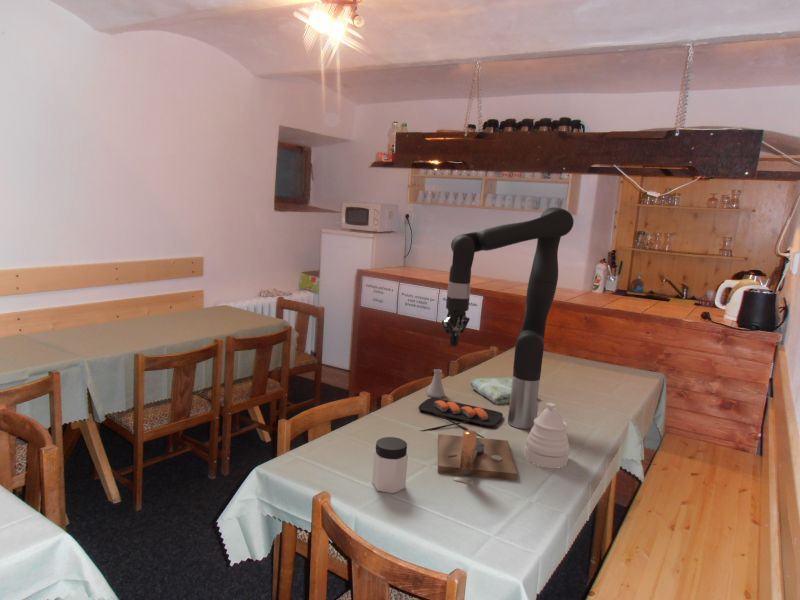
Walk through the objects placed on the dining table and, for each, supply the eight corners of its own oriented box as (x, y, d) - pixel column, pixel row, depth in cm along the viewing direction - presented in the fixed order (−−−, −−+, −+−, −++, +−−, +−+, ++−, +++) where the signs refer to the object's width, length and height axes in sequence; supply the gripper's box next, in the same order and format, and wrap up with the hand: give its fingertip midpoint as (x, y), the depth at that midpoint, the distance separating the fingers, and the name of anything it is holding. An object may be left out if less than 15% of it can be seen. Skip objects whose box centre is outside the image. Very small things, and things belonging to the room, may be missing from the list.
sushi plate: (504, 417, 208) (505, 407, 207) (481, 448, 181) (482, 437, 180) (429, 401, 219) (430, 391, 219) (397, 427, 192) (397, 417, 192)
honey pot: (560, 472, 167) (567, 414, 164) (518, 459, 174) (524, 403, 171) (572, 457, 178) (580, 402, 175) (532, 445, 185) (539, 392, 182)
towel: (539, 401, 228) (540, 388, 227) (494, 406, 219) (495, 393, 218) (511, 386, 244) (512, 374, 243) (468, 390, 235) (470, 378, 234)
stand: (507, 446, 183) (508, 439, 182) (518, 489, 156) (519, 480, 156) (437, 439, 184) (438, 432, 183) (437, 481, 157) (438, 472, 157)
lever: (468, 446, 175) (472, 409, 173) (485, 449, 174) (488, 412, 171) (455, 474, 157) (459, 433, 155) (473, 478, 155) (478, 437, 153)
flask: (443, 399, 221) (445, 374, 219) (425, 396, 222) (427, 372, 220) (446, 393, 228) (448, 369, 226) (428, 390, 229) (430, 366, 227)
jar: (388, 474, 159) (391, 433, 157) (411, 485, 154) (414, 443, 152) (365, 485, 152) (368, 442, 150) (388, 497, 147) (392, 453, 145)
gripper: (460, 292, 199) (456, 340, 202) (437, 295, 189) (432, 346, 192) (478, 295, 194) (474, 345, 197) (455, 299, 184) (450, 351, 187)
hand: (453, 346), depth 194 cm, fingers closed
